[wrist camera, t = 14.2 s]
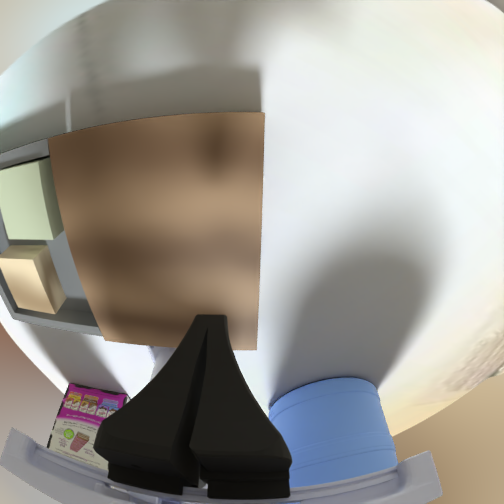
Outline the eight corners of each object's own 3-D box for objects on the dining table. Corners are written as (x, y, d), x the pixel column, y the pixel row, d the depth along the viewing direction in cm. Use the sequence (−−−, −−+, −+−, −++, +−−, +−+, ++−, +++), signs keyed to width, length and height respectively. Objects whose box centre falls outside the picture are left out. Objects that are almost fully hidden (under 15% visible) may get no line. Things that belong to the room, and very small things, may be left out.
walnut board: (255, 325, 25) (256, 350, 22) (115, 319, 24) (105, 340, 22) (261, 112, 16) (264, 112, 13) (71, 131, 16) (48, 138, 13)
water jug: (274, 378, 29) (291, 606, 5) (392, 367, 30) (447, 552, 6) (263, 428, 37) (271, 581, 13) (355, 419, 38) (382, 558, 13)
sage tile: (69, 225, 19) (53, 239, 16) (24, 226, 18) (8, 239, 16) (57, 154, 16) (38, 162, 14) (11, 164, 15) (-7, 172, 13)
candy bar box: (82, 398, 34) (57, 478, 20) (68, 381, 32) (38, 466, 18) (139, 409, 34) (121, 501, 20) (128, 393, 32) (104, 495, 18)
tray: (110, 318, 24) (102, 336, 22) (22, 306, 24) (13, 319, 22) (66, 132, 16) (47, 138, 13) (-23, 163, 15) (-39, 171, 13)
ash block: (18, 307, 20) (29, 293, 22) (55, 314, 20) (66, 298, 22) (-4, 258, 17) (10, 245, 19) (32, 259, 17) (47, 245, 19)
